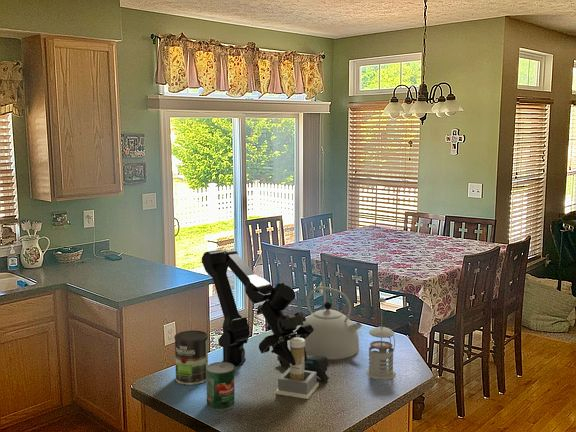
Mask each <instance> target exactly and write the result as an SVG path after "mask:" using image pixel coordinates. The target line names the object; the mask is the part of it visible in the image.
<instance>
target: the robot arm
mask: <svg viewBox="0 0 576 432" xmlns="http://www.w3.org/2000/svg"><path fill="white" fill-rule="evenodd" d="M201 264H202V266H203V268H204V271H205V272H206V273H207V274H208V275H209V276H210V277H211V278H212V281H213V283H214V287H215V291H216V294H217V298H218V301H219V305H220V307H221V310H222V315H223V318H224V319H223V324H222V332H223V333H222V335H221V336H219V338H218V339H217V342H218V346H219V347H222V355H223V356H222V360H221V362H228V363H231V364H233V365H234V367H239V366H240V365H241V364H243V363H244V362H245V361H246V360H247V359H246V350H245V349H246V348H245V347H244V344H247V343H248V341H249V336H250V333H251V332H250V328H251V327H250V325H249V323H248V319H247V317H246V316H241V314H240V313H239V311H238V308H237V304H236V301H235V297H234V294H233V290H232V287H231V285H230V281H229V277H228V274H227V272H228V269H230V270H231V272H232V273H233V274H234V275H235V276H236V277H237V278H238V280H239V281H240V282H241V284H242V285H243V286H244V290H245V291H244V292H245V294H246V296H247V298H248V299H249V300H250V302H251V303H253V304H258V303H262V302H263V303H262V304H259V305H258V306H257V310H256V314H257V315H261V314H262V316H263V318H264V320H265V322H266V323H267V325H268V326H267V327H266V329H267V331H271V332H272V334H271V335H267V336H265V337H264V338H263V339H262V340H261V342H260V343H259V344H258V349H259V351H260V353H261V354H265V353H269V351H270V347H271V348H272V350H271V354H273V353H274V354H276V355H277V356H278V355H279V356H280V357H282V358H283V359H285V360H286V361H288V362H289V363H291V364H292V365H295V364H296V362H295V360H294V358H293V356H292V354H291V352H290V347H289V345H288V343H289V342H288V341H290V339H291V338H295V337H299V338H303V339H306V338H307V337H308V336H309V335H310V334H311V333H312V332H313V331H314V329H313V328H312V326H311V325H310V324H306V325H304V324H303V322H304V321H306V318H307V317H306V316H305V314H304V312H303V311H302V310H301V311H298V312H295V313H294V316H292V317H290V316H289V315H288V314H284V312H283V311H284V310H286V309H287V307H288V306H289V305H290V304H291V303H292V302H293V301H294V300H295V298H296V292H295V290H294V289H293V288H292V287H290V286H289V285H286V284H285V283H284V282H278V283H277V284H276V286H273V285H272V284H271V282H269V281H267V279H265V278H263V277H260V276H259V275H257V274H255V272H254V271H253V270H252V269H251V268H250V267H249V266H248V264H247V263H246V262H245V261H244V260H243V259H242V257H240V255H239V253H238V251H237V250H235V249H228V250H223V249H215V250H210V251H205V252H204V253H203V254H202V257H201ZM301 325H303V326H301ZM304 355H305V360H304V361H306V360H307V356H306V351H305V347H304Z"/></svg>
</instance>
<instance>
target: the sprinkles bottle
mask: <svg viewBox="0 0 576 432" xmlns="http://www.w3.org/2000/svg"><path fill="white" fill-rule="evenodd" d="M304 347H305V339H303V338H299V337H295V338H291V339H290V340H289V350H290V352H291V354H292V356H293V358H294V360H295V362H296V364H295V365H292V364H291V363H290V379H294V380H301V381H304V360H305V355H304Z"/></svg>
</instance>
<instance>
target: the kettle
mask: <svg viewBox="0 0 576 432" xmlns="http://www.w3.org/2000/svg"><path fill="white" fill-rule="evenodd" d="M319 290H329V291H332V292H335V293H338V294H340V295H342V296H343V297H344V298H345V300H346V301H347V305H348V312H347V314H346V315H345V314H343V313H342V312H340V311H338V310H334V309H331V308H332V304H331V302H330V301H326V302H325V303H324V305H323V307H324V309H319V310H317V311H314V312H313V311H312V308H311V307H310V298H311V296H312V294H313V293H314V292H316V291H319ZM306 306H307V309H308V311H309V313H310V314H309V315H308V316H307V317H305V318H306V321H304V322H303V324H304V325H306V324H310V325H311V326H312V328H313V329H314V331H313V332H312V333H311V334H310V335H309V336H308V337H307V338H306V339H305V351H306V356H321V357H322V356H324V357H326V358H328V360H340V359H345V358H349V357H352V356H355V355H356V354H358V353H359V351H360V348H359V345H360V344H359V343H360V342H359V341H360V340H359V332H358V330H359V329H360V328H362V327H363V325H362V324H361V322H358V321H356V322H354V323H353V321H352V320H351V319H350V315H351V313H352V305H351V301H350V299H349V297H348V296H347V295H346V294H345V293H344V292H342V291H340V290H339V289H335V288H332V287H328V286H327V287H326V286H318V287H315V288H314V289H312V290H311V291H309V294H308V295H307V299H306ZM300 326H303V325H300Z"/></svg>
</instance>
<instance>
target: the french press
mask: <svg viewBox="0 0 576 432" xmlns="http://www.w3.org/2000/svg"><path fill="white" fill-rule="evenodd" d="M378 302H380V303H385V302H386V299H385V297H380V298H379V299H378ZM380 314H381V321H380V326H377V327H373V328H371V329H369V330H368V333H369V335H370V336H371V337H375V338H380V340H375V341H371V342H370V343H369V345H370V346H369V347H368V368H367V370H365V375H366V374H367V375H366V376H367V377H369V378H371V379H375V380H380V379H381V380H382V379H383V380H391V379H393V378H394V379H395V377H396V376H397V373H396V372H395V371H394V351H395V346H396V339H395V336H394V335H395V332H394V331H393V330H392V329H390V328H388V327H387V326H386V327H385V326H383V310H381V313H380ZM392 337H393V343H394V344H393V343H391V342H392V341H391V340H392V339H391V338H392ZM384 338H387V339H389V341H385V340H382V339H384ZM373 349H374V350H373ZM383 380H382V381H383Z"/></svg>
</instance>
